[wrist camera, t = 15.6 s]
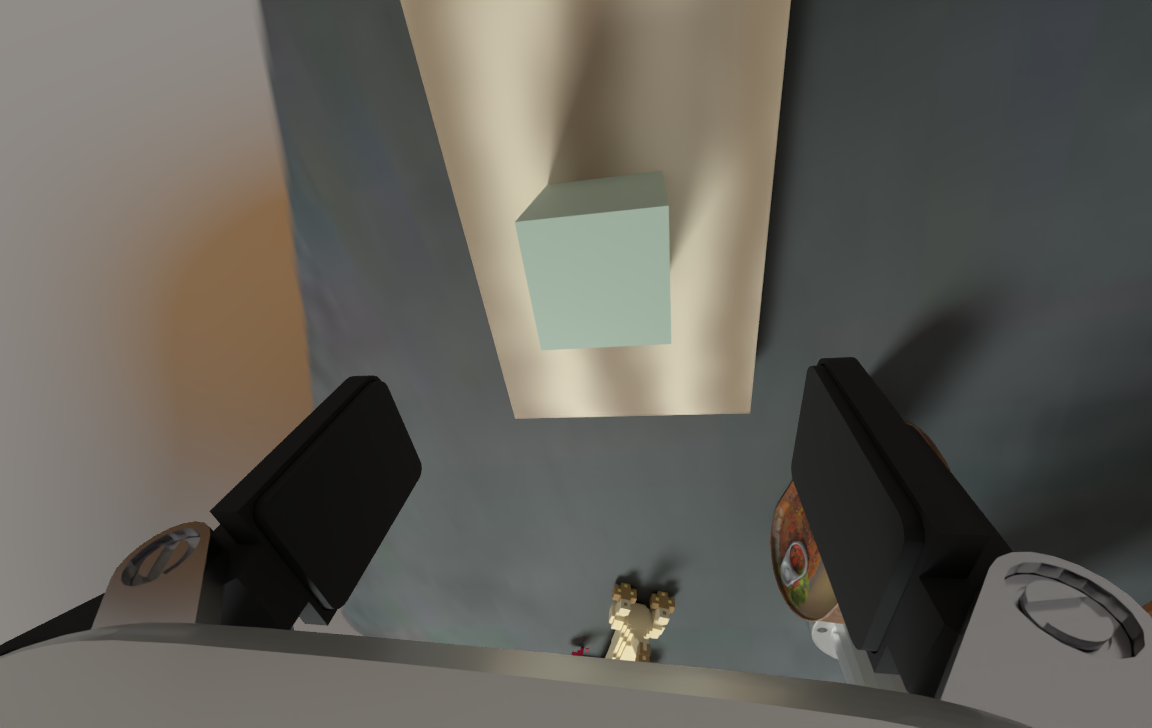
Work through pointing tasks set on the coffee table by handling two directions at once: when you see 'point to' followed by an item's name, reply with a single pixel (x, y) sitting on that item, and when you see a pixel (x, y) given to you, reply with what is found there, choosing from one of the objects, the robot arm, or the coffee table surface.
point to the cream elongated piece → (635, 623)
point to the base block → (614, 174)
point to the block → (599, 262)
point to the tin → (805, 559)
